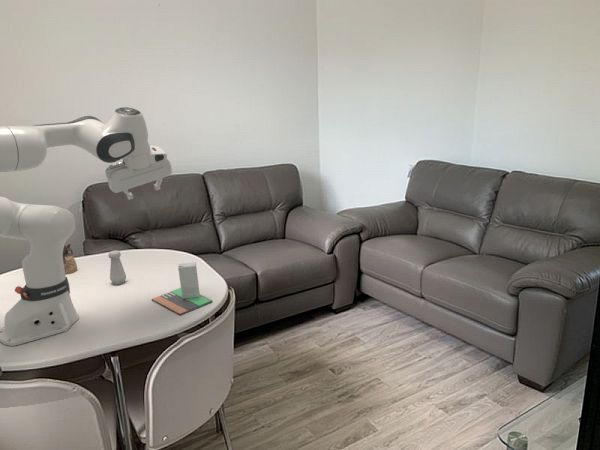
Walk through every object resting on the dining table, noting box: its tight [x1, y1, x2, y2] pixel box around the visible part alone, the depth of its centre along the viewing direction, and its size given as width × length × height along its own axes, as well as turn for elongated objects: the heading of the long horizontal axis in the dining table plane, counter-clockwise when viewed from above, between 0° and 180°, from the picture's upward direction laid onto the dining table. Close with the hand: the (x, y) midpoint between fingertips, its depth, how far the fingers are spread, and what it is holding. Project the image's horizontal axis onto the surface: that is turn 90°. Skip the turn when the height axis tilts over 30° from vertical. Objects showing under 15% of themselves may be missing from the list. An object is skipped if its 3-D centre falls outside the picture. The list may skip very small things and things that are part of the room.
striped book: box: [151, 287, 213, 316], centre depth 157 cm, size 13×18×1 cm
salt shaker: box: [108, 250, 127, 286], centre depth 173 cm, size 6×6×13 cm
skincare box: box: [177, 261, 201, 299], centre depth 158 cm, size 6×4×12 cm
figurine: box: [63, 243, 78, 276], centre depth 187 cm, size 7×7×12 cm
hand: (144, 193), depth 150 cm, fingers open, 8 cm apart
